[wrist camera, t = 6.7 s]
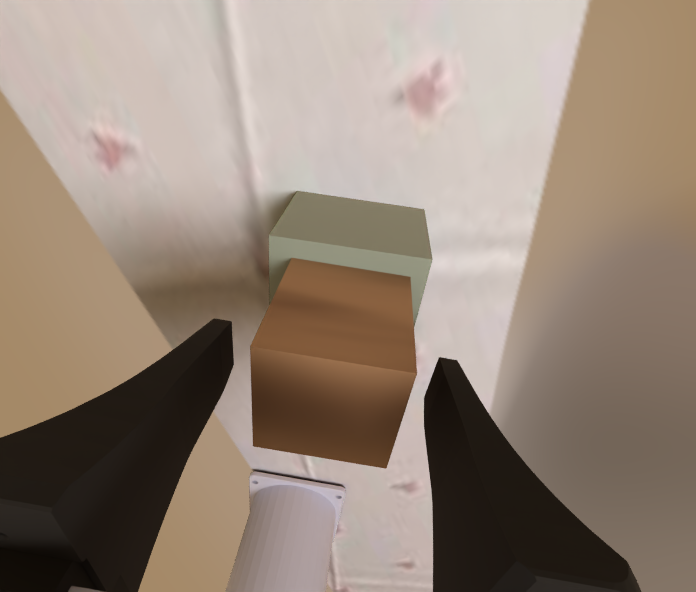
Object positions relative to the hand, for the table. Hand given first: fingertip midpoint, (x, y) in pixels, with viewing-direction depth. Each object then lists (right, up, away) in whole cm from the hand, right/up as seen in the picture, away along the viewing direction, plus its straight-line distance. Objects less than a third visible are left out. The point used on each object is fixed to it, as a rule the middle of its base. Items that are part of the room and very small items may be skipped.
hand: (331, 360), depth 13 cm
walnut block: (0, +2, +2) cm, 3 cm away
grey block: (+1, +4, +6) cm, 8 cm away
